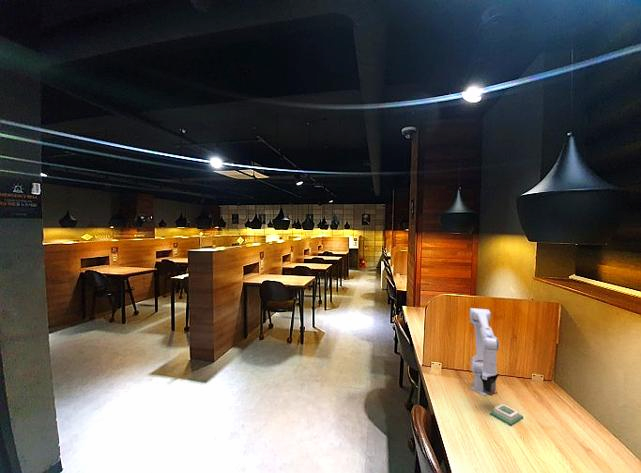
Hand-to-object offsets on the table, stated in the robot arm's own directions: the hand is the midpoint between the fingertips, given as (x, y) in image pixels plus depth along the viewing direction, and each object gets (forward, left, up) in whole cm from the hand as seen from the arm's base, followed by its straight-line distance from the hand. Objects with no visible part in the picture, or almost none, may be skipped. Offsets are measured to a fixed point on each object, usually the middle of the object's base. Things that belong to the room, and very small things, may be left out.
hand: (489, 389), depth 135 cm
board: (0, +8, -9) cm, 12 cm away
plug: (0, 0, -2) cm, 2 cm away
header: (0, +8, -9) cm, 12 cm away
